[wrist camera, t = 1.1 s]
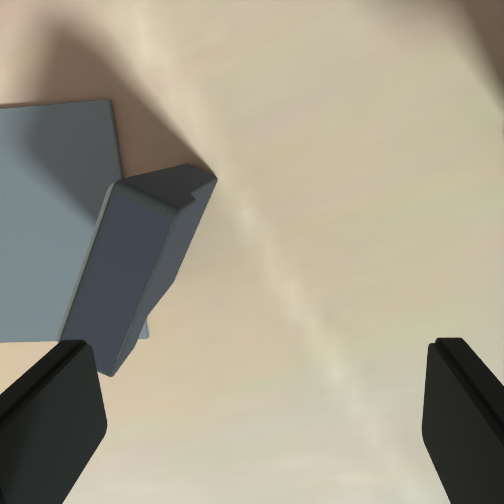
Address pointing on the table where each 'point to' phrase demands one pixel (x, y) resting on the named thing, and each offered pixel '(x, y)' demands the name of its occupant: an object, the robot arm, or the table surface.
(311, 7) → the table surface
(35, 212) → the mat
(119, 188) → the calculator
